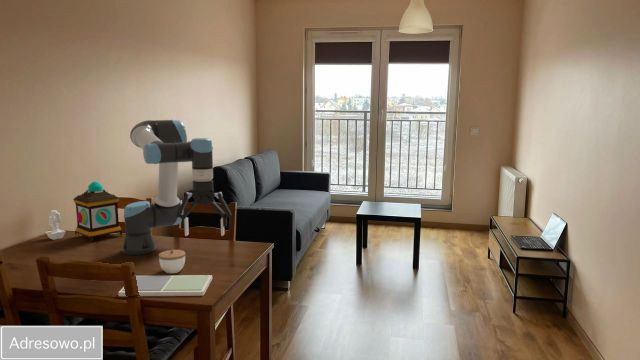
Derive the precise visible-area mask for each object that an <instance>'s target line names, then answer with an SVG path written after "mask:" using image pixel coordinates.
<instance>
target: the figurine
mask: <svg viewBox="0 0 640 360" xmlns="http://www.w3.org/2000/svg"><path fill="white" fill-rule="evenodd" d="M47 221H48V226H50V227H51V230H49V231H45V232H44V233H45V234H46V235H47V237H48V238H49V239H50V240H53V241H55V240H60V239H63V238H64V235H65V234H66V230H63V229H59V223H60V222H61V213H60V212H58V210H57V209H56V210H54V209H53V210H50V214H49V216H48V220H47Z"/></svg>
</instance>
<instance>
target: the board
mask: <svg viewBox="0 0 640 360" xmlns="http://www.w3.org/2000/svg"><path fill="white" fill-rule="evenodd" d="M135 276H136V280H137V286H138V292H139V295H140V296H139V297H177V296H179V297H181V296H182V297H184V296H185V297H186V296H190V297H192V296H195V297H196V296H205V293H206V291H207V290H208V288H209V286H210V285H211V282H212V280H213V274H212V275H210V274H206V275H200V274H199V275H197V274H196V275H193V274H192V275H191V274H190V275H189V274H188V275H183V274H182V275H135ZM118 297H127V296H126V295H125V289H124V286H123V287H122V288H121V289H120V290H119V291H118Z"/></svg>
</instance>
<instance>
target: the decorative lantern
mask: <svg viewBox="0 0 640 360" xmlns="http://www.w3.org/2000/svg"><path fill="white" fill-rule="evenodd" d="M85 190H86V191H85V192H83V193H81V194H79V195H76V196H75V197H74V198H73V199H72V200H73V203H74V204H75V212H76V228H75V230H74V234H75V237H76V238H79V237H80V235H82V236H84V237H87V238H88V241H89V243H93V239H94V238H95V237H100V236H104V235H109V234H114V233H118V237H122V236H123V230H122V228H121V226H120V222H119V209H118V207H119V206H118V204H119V201H120V198H119V197H118V196H117V195H115V194H112V193H109V192H108V191H106V189H104V186H103V185H102V183H100V182H99V181H95V180H94V181H91V182H90V184H89V185H88V187H87V189H85Z"/></svg>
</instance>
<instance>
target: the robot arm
mask: <svg viewBox="0 0 640 360" xmlns="http://www.w3.org/2000/svg"><path fill="white" fill-rule="evenodd" d="M187 135H188V134H187V130H186V127H185V125H184V123H183V122H182V121H181V120H178V119H165V120H164V119H163V120H159V119H157V120H153V119H152V120H150V119H149V120H148V119H147V120H144V121H140V122H139V123H137V124H135V125H134V126H132V129H131V131H130V134H129V138H130V141H131V142H132V143H133V145H134V146H135V147H137V148H139V149H142V156H143V160H144V162H145V163H146V164H148V165H157V164H158V186H157V187H158V189H157V190H158V196H156V198H155V199H154V203H150V201H149V200H143V201H142V200H140V201H135V202H132V203H128V204H127V205H126V206H125V207H124V210H123V217H124V231H125V233H124V234H125V237H124V240H123V244H122V247H121V249H122V251H121V252H122V253H123V254H124V255H127V256H128V255H131V256H140V255H146V254H150V253H152V252H155V251H156V250H157V243H156V241H155V239H154V237H153V234H152V229H153V228H162V227H168V226H169V227H171V226H175V225H176V226H177V225H179V224H181V227H183V228H184V236H185V237H187V236H188V235H189V234H190V233H189V231H190V229H189V217H187V216H188V215H189V214H190V213H191V211H192V210H193V209H194V207H195V206H196V205H197V204H198V205H201V206H202V205H205V206H207V205H210V206H211V207H212V208H213V209H214V210H215V211H216V212H217V213H218V215H219V216H220V217H221V218H220V235H221V236H222V237H223V236H224V235H225V227H227V225H228V218H231V216H232V212H231V210H230V208H229V207H228V205H227V201H225V199H224V195H223V192H222V191H219V192H215V189H214V180H213V179H214V168H213V167H214V166H213V165H214V164H213V160H214V159H213V142H212V139H210V138H206V137H196V138H192V139H191V141H188V136H187ZM188 162H189V163H190V162H191V175H192V179H193V181H192V192H189V191H186V192H185V193H184V194H183V199H182V201H181V200H180V198H179V197H178V177H179V175H178V173H179V163H188ZM191 197H192V199H193V200H194V201H192V203H191V204H190V205H189V207H188V208H187V209H186V210H185V208H186V205H187V203H188V201H189V199H191ZM215 197H216V199H218V201H219V203H220V205H221V207H222V208H221V207H220V206H219V205H218V203H217V202H216V201H215V199H214V198H215ZM184 210H185V211H184Z"/></svg>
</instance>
